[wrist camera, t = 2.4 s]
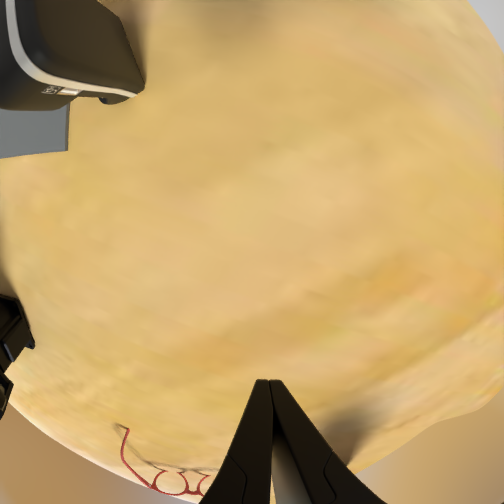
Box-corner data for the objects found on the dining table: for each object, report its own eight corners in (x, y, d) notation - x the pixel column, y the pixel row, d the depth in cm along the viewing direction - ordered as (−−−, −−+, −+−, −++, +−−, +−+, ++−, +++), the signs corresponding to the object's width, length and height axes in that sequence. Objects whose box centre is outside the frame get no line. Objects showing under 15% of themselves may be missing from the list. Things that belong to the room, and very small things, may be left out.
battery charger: (75, 43, 13) (-36, 9, 3) (120, 15, 13) (25, -52, 2) (101, 119, 16) (-27, 130, 5) (149, 92, 15) (40, 61, 5)
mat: (-42, 166, 15) (-45, 167, 15) (-33, 53, 10) (-35, 53, 10) (67, 150, 16) (64, 151, 16) (88, 1, 12) (85, -1, 11)
